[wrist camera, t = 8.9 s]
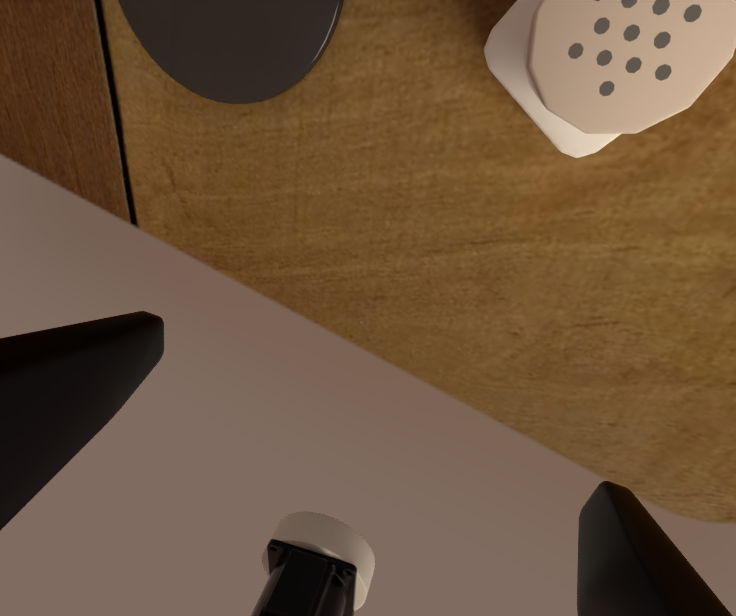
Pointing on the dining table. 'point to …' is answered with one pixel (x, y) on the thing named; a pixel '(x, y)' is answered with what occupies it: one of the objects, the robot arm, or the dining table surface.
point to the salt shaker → (608, 63)
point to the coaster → (234, 43)
